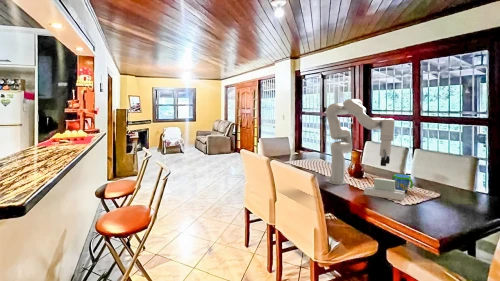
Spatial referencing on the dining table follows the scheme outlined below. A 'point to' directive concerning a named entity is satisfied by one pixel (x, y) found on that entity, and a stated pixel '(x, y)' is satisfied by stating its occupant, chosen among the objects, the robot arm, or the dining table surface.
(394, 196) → the track board
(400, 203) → the dining table surface
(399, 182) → the snack cup
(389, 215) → the dining table surface
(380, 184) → the door panel
